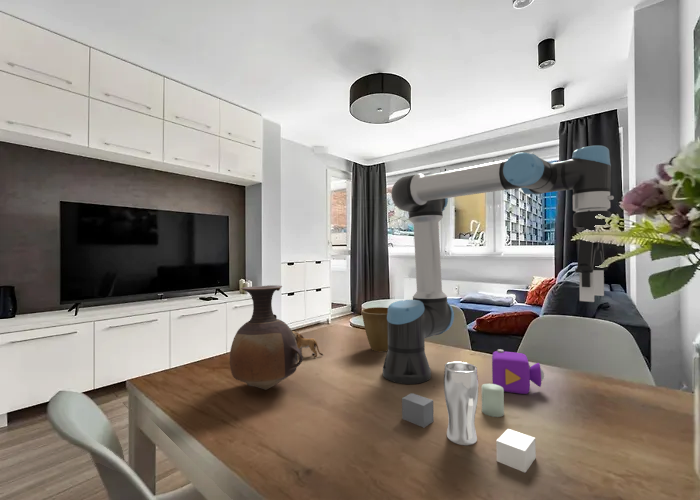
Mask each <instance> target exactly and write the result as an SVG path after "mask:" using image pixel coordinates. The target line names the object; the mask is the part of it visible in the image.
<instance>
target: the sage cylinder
mask: <svg viewBox="0 0 700 500" xmlns="http://www.w3.org/2000/svg"><path fill="white" fill-rule="evenodd" d="M480 387H481V412H482V413H483V414H484V415H485V416H489V417H493V418H501V417H503V416H504V415H505V404H504V403H505V401H504V400H505V397H504V395H505V393H504V389H503V387H501V386H499V385H496V384H493V383H483V384H482V385H481V386H480Z"/></svg>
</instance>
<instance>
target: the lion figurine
mask: <svg viewBox="0 0 700 500" xmlns="http://www.w3.org/2000/svg"><path fill="white" fill-rule="evenodd" d="M291 331H292V332H293V334H294V336H295V339H296V342H297V347H298V348H299V349H300V350H301V351H302V352H303V348H304V349H308V348H309V349H310V351H311V355H312V354H315V355H313V358H314V357H316V358H317V357H318V354H319V355H320V356H324V354H323V353H321V352H320V350H319V345H318V343H317V341H316V339H315V338H313V337H312V338H311V337H310V338H307V337H306V338H305V337H304V336H303V335H302V334H301V333H299V332H298V331H294V330H291Z"/></svg>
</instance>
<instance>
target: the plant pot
mask: <svg viewBox="0 0 700 500" xmlns="http://www.w3.org/2000/svg"><path fill="white" fill-rule="evenodd" d="M387 314H388V307H383V306H381V307H380V306H377V307H375V306H374V307H367V308H363V309H362V310H361V316H362V321H363V326H364V330H365V334H366V338H367V341H368V343H369V347H370V349H371V351H373V350H374V351H373V352H377V351H385V352H388V351H387V350H388V330H387Z"/></svg>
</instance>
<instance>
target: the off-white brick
mask: <svg viewBox="0 0 700 500" xmlns="http://www.w3.org/2000/svg"><path fill="white" fill-rule="evenodd" d="M536 452H537V451H536V437H534V436H531V435H530V434H525V433H523V432H519V431H516V430H514V429H510V428H506V430H505V431H504V432H503V433H502V434H501V435H500V436H499V437H498V438H497V439H496V462H498V463H500V464H503V465H505V466H508V467H510V468H512V469H516V470H517V471H520V472H522V473H527V471H528V470H529V468H530V467H531V466H532V464H533V462H534V461H535V460H536V459H537V458H536V457H537V456H536Z"/></svg>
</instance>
